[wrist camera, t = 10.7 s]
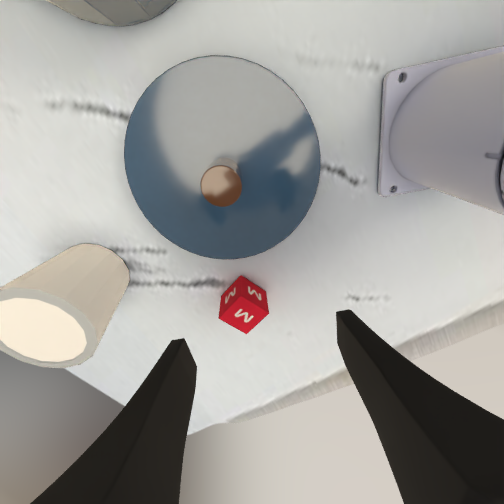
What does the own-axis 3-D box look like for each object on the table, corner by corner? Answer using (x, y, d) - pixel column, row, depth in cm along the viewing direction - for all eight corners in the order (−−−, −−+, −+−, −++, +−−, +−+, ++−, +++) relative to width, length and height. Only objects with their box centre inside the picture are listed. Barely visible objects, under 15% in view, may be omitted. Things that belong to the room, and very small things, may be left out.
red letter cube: (220, 296, 23) (218, 318, 21) (240, 274, 22) (240, 295, 20) (246, 310, 24) (246, 334, 22) (266, 291, 23) (269, 313, 21)
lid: (308, 35, 15) (332, 7, 11) (321, 237, 21) (339, 263, 17) (94, 85, 15) (47, 74, 12) (168, 265, 22) (153, 296, 18)
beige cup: (34, 257, 21) (-53, 315, 15) (100, 222, 20) (35, 270, 13) (92, 313, 24) (41, 381, 18) (153, 286, 23) (119, 349, 16)
